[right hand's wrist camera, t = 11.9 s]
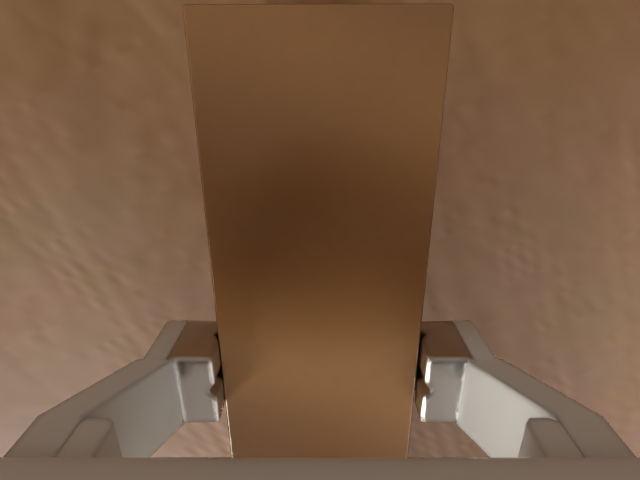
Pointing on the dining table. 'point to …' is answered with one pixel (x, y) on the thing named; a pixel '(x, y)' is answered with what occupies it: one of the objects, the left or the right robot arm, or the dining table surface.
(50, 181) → the dining table surface
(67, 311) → the dining table surface
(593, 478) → the right robot arm
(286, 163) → the beam
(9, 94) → the dining table surface
